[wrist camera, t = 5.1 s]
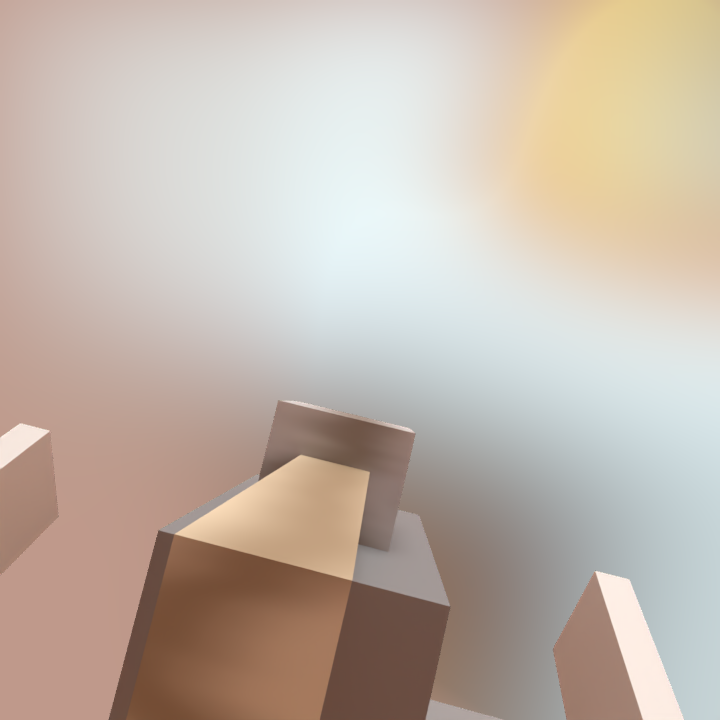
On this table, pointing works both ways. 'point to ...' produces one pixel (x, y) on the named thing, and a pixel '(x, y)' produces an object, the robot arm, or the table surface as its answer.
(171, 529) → the stand
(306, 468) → the hammer
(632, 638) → the robot arm
